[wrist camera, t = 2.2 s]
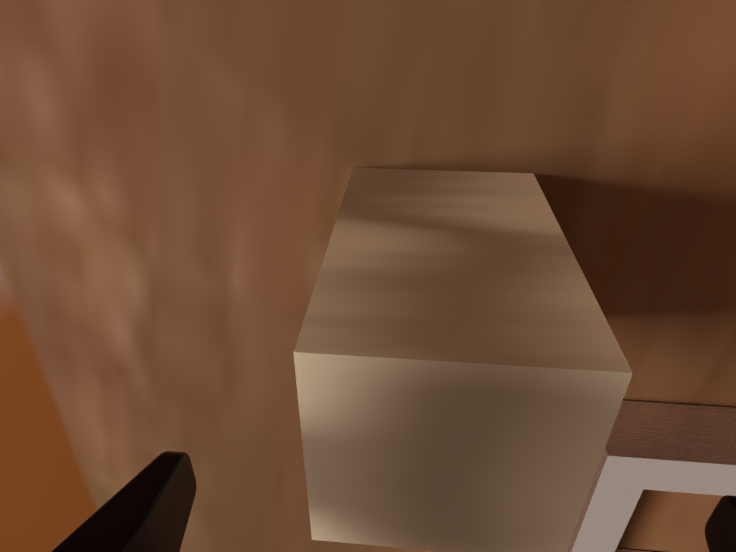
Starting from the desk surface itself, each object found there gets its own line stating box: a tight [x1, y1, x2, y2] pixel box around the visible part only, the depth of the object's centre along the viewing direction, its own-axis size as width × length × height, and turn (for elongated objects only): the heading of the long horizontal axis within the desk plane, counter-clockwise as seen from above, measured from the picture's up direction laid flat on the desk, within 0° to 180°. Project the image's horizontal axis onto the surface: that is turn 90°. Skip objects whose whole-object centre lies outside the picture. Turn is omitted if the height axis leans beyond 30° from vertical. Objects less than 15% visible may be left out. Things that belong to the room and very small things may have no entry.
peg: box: [294, 167, 633, 552], centre depth 12 cm, size 5×5×8 cm
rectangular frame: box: [567, 400, 736, 552], centre depth 20 cm, size 10×10×2 cm
